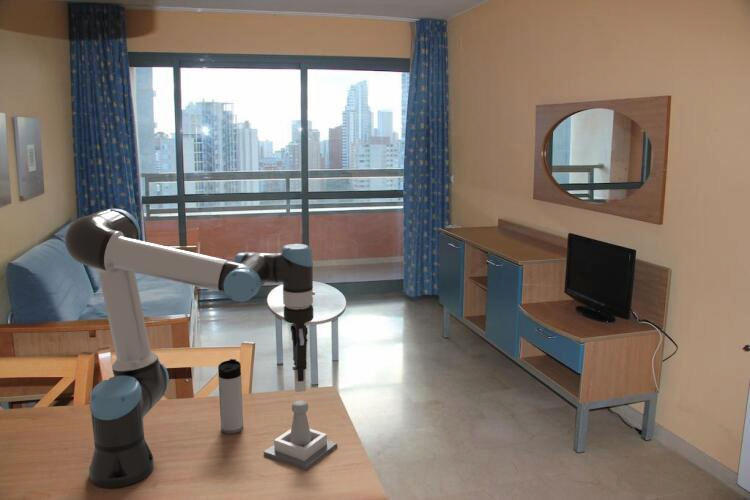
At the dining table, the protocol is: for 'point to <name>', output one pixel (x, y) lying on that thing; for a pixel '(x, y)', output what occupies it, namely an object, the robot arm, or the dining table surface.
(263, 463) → the dining table surface
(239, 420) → the travel mug
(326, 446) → the socket
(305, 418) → the grey bulb peg
